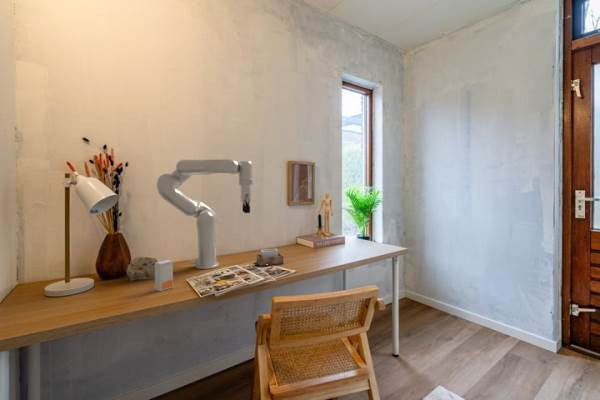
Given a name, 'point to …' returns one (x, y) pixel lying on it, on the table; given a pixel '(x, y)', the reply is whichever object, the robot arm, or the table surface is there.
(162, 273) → the skincare box
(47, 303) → the table surface
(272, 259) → the crate large
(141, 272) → the rock
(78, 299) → the table surface
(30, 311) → the table surface
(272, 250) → the crate small
